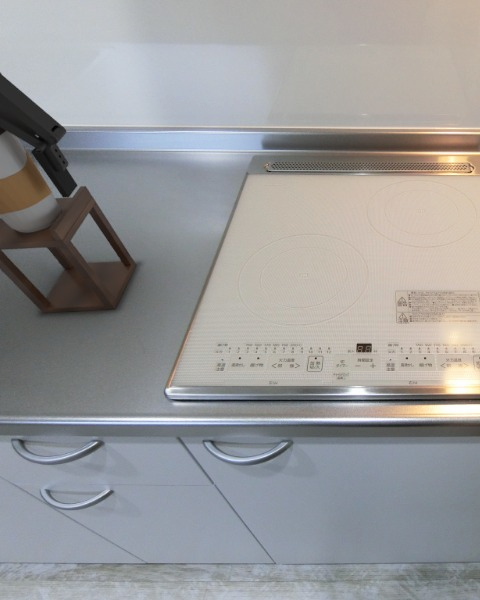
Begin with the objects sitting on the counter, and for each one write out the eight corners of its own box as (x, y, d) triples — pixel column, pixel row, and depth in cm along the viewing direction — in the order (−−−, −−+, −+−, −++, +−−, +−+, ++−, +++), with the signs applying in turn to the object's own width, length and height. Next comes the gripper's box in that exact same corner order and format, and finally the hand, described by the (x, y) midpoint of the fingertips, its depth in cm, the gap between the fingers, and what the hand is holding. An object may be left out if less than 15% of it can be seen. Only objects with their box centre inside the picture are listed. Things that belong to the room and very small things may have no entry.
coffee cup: (-6, 220, 60) (-99, 114, 49) (58, 194, 64) (-15, 90, 53) (14, 247, 57) (-82, 139, 45) (80, 218, 61) (7, 112, 49)
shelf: (43, 313, 68) (-34, 234, 56) (70, 268, 74) (7, 189, 62) (115, 309, 68) (54, 230, 56) (136, 264, 75) (86, 185, 63)
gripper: (-310, 22, 38) (-101, 215, 54) (-18, 14, 39) (103, 206, 55) (-235, -2, 43) (-63, 181, 59) (23, -9, 44) (124, 173, 60)
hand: (17, 193), depth 57 cm, fingers open, 13 cm apart
